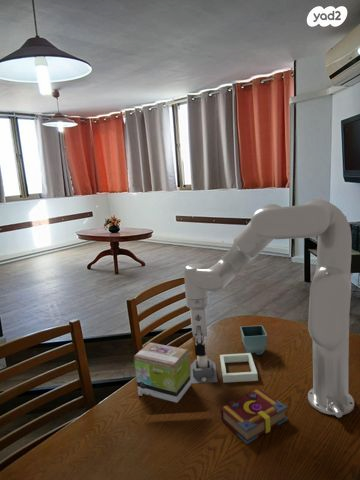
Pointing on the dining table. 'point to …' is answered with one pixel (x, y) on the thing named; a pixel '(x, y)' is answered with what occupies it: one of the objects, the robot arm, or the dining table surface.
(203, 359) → the cylinder
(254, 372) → the parts tray
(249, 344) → the flower pot
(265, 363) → the dining table surface
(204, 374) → the block
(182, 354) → the tea box
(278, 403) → the decorative book
